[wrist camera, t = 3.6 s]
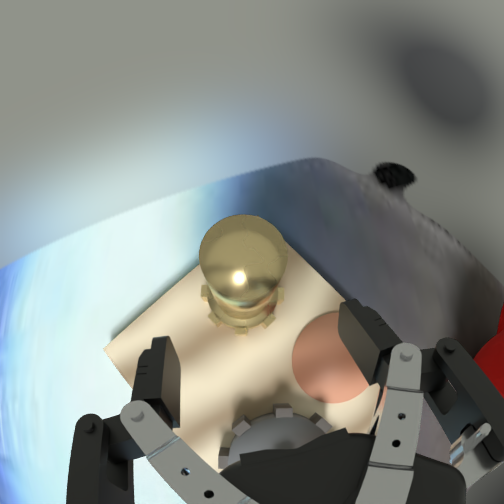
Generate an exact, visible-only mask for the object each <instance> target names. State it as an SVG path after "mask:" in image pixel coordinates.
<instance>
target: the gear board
mask: <svg viewBox="0 0 504 504" xmlns="http://www.w3.org/2000/svg"><path fill="white" fill-rule="evenodd" d="M257 217H259V216H258V215H257ZM285 243H286V242H285ZM286 247H287V252H288V261H287V266H286V269H285V272H284V274H283V276H282V278H281V280H280V282H279V284H278V288H284V301H283V302H282V303H281V304H276V307H275V309H274V311H273V312H272V314H273V315H274V316H275V317H276V319H275V320H274V321H273V322H272V323H271V324H270V325H269V326H268V327H267V328H266V329H264V328H263V327H262V326H261V325H260V326H258V327H256V328H253V329H250V330H248V335H247V336H235V329H232V328H229V327H227V326H225V325H224V324H221V325H220V326H219V327H217V326H216V325H215V324H214V323H213V322H212V321H211V320H210V319H209V317H208V315H209V314H210V313H211V312H212V310H211V308H210V306H209V303H208V302H204V301H203V299H202V298H201V285H208V283H207V281H206V279H205V277H204V275H203V272H202V270H201V267H200V264H199V265H198V266H196V267H195V268H194V269H193V270H192V271H191V272H189V273H188V274H187V275H186V276H185V277H184V278H182V279H181V280H180V281H179V282H178V283H177V284H175V285H174V286H173V287H172V288H171V289H170V290H169V291H167V292H166V293H165V294H164V295H163V296H162V297H160V298H159V299H158V300H157V301H156V302H155V303H154V304H153V305H151V306H150V307H149V308H148V309H147V310H146V311H145V312H143V313H142V314H141V315H140V316H139V317H138V318H137V319H136V320H134V321H133V322H132V323H131V324H130V325H129V326H128V327H127V328H126V329H124V330H123V331H122V332H121V333H120V334H119V335H118V336H117V337H116V338H114V339H113V340H112V341H111V342H110V343H109V344H108V345H107V346H106V347H105V348H103V350H104V351H105V353H106V354H107V355H108V357H109V358H110V360H111V361H112V363H113V364H114V365H115V367H116V368H117V369H118V371H119V372H120V373H121V375H122V376H123V377H124V379H125V380H126V381H127V383H128V384H129V385H130V386H131V388H132V389H133V385H134V379H135V375H136V369H137V364H138V359H139V357H140V355H141V354H142V352H143V351H144V349H151V343H152V339H153V337H160V336H170V338H171V341H172V343H173V346H174V348H175V351H176V353H177V355H178V358H179V361H180V366H181V388H180V428H173V432H174V433H175V434H176V435H177V436H179V437H180V438H181V439H182V440H183V441H184V442H185V443H186V444H187V445H188V446H189V447H190V448H191V449H192V450H193V451H194V452H195V453H196V454H198V455H199V456H200V457H201V458H202V459H203V460H204V461H205V462H206V463H207V464H208V465H210V466H211V467H212V468H213V469H214V470H215V471H216V472H218V473H220V472H221V471H222V470H223V469H224V468H226V467H227V466H229V465H230V464H232V463H234V462H237V461H239V460H240V456H239V454H242V453H249V452H254V451H260V450H265V449H296V448H299V447H301V446H302V445H304V444H306V443H308V442H310V441H312V440H314V439H315V438H317V437H319V436H321V435H324V434H327V433H330V432H333V431H336V430H339V429H342V428H345V427H346V429H347V432H348V433H365V434H367V431H368V429H369V426H370V423H371V420H372V416H373V412H374V408H375V404H376V400H377V396H378V391H379V388H380V386H379V384H378V383H376V384H374V385H371V386H369V384H368V382H367V381H366V379H365V377H364V376H363V374H362V373H361V371H360V369H359V368H358V366H357V364H356V363H355V361H354V360H353V358H352V356H351V355H350V353H349V352H348V350H347V348H346V347H345V345H344V344H343V342H342V340H341V339H340V336H339V333H338V318H339V306H340V303H341V302H344V301H346V300H345V299H344V298H343V297H342V296H341V295H340V294H339V293H338V292H337V291H336V290H335V289H334V288H333V287H332V286H331V285H330V284H329V283H328V282H327V281H326V280H325V279H324V278H323V277H322V276H320V275H319V274H318V273H317V272H316V271H315V270H314V269H313V268H312V267H311V266H310V265H309V264H308V263H307V262H306V261H305V260H304V259H303V258H302V257H301V256H300V255H299V254H298V253H297V252H296V251H295V250H294V249H293V248H292V247H291V246H290V245H289V244H288V243H286Z"/></svg>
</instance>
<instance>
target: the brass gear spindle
mask: <svg viewBox="0 0 504 504" xmlns="http://www.w3.org/2000/svg"><path fill="white" fill-rule="evenodd" d="M287 261H288V252H287V247H286V243H285V241H284V239H283V237H282V235H281V234H280V232H279V231H278V230H277V229H276V228H275V227H274V226H273V225H272V224H271V223H269V222H268V221H266V220H264V219H262V218H260V217H257V216H253V215H245V214H244V215H233V216H230V217H227V218H224V219H222V220H220V221H219V222H217V223H216V224H214V225H213V226H212V227H211V228H210V229H209V230H208V232H207V233H206V234H205V236H204V238H203V240H202V242H201V245H200V250H199V263H200V267H201V270H202V272H203V275H204V277H205V279H206V281H207V283H208V285H201V298H202V299H203V301H204V302H208V303H209V306H210V308H211V310H212V312H211V313H210V314H209V315H208V317H209V319H210V320H211V321H212V322H213V323H214V324H215V325H216V326H217V327H219V326H220V325H221V324H224V325H225V326H227V327H229V328H232V329H235V336H247V335H248V330H250V329H253V328H256V327H258V326H260V325H261V326H262V327H263V328H264V329H266V328H267V327H268V326H269V325H270V324H271V323H272V322H273V321H274V320H275V319H276V317H275V316H274V315H273V314H272V312H273V311H274V309H275V307H276V304H281V303H282V302H283V301H284V288H278V284H279V282H280V280H281V278H282V276H283V274H284V272H285V269H286V266H287Z"/></svg>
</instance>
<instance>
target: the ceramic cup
mask: <svg viewBox="0 0 504 504" xmlns="http://www.w3.org/2000/svg"><path fill="white" fill-rule="evenodd" d="M473 360H474V361H475V362H476V363H477V364H478V366H479V367H480V368H481V369H482V371H483V372H484V373H485V374H486V376H487V377H488V378H489V379H490V381H491V382H492V383H493V385H494V386H495V387H496V389H497V390H498V391H499V393H500V394H501V395H502V397H503V398H504V304H503V307H502V310H501V315H500V319H499V324H498V330H497V335H495V336H494V337H493V338H491V339H490V340H489V341H488V342H487V343H486V344H485V345H484V346H483V347H482V348H481V349H480V351H479V352H478V353H477V355H476V356H475V357H474V359H473Z"/></svg>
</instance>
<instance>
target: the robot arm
mask: <svg viewBox="0 0 504 504" xmlns="http://www.w3.org/2000/svg"><path fill="white" fill-rule="evenodd" d="M338 333H339V336H340V339H341V340H342V342H343V344H344V345H345V347H346V348H347V350H348V352H349V353H350V355H351V356H352V358H353V360H354V361H355V363H356V364H357V366H358V368H359V369H360V371H361V373H362V374H363V376H364V377H365V379H366V381H367V382H368V384H369V386H371V385H374V384H376V383H378V384H379V386H380V388H379V391H378V396H377V400H376V404H375V408H374V412H373V416H372V420H371V423H370V426H369V429H368V431H367V434H365V433H348V432H347V429H346V427H345V428H342V429H339V430H336V431H333V432H330V433H327V434H324V435H321V436H319V437H317V438H315V439H314V440H312V441H310V442H308V443H306V444H304V445H302V446H301V447H299V448H296V449H265V450H260V451H254V452H249V453H242V454H239V456H240V460H239V461H237V462H234V463H232V464H230V465H229V466H227V467H226V468H224V469H223V470H222V471H221V472H220V473H218V472H216V471H215V470H214V469H213V468H212V467H211V466H210V465H208V464H207V463H206V462H205V461H204V460H203V459H202V458H201V457H200V456H199V455H198V454H196V453H195V452H194V451H193V450H192V449H191V448H190V447H189V446H188V445H187V444H186V443H185V442H184V441H183V440H182V439H181V438H180V437H179V436H177V435H176V434H175V433H174V432H173V428H180V388H181V366H180V361H179V358H178V355H177V353H176V351H175V348H174V346H173V343H172V341H171V338H170V336H160V337H153V339H152V343H151V349H144V351H143V352H142V354H141V355H140V357H139V359H138V364H137V369H136V375H135V379H134V385H133V391H132V397H131V402H130V403H128V404H127V405H125V406H124V407H123V409H122V411H121V413H120V414H119V415H117V416H113V417H110V418H106V419H103V420H102V419H101V418H100V417H99V416H98V415H96V414H86V415H84V416H82V417H81V418H80V419H79V420H78V421H77V423H76V426H75V432H74V437H73V443H72V450H71V457H70V464H69V473H68V483H67V497H66V504H135V503H134V479H133V459H137V458H140V457H143V456H147V457H146V458H147V460H148V461H149V462H150V464H151V465H152V466H153V467H154V468H155V470H156V471H157V472H158V473H159V474H160V475H161V477H162V478H163V479H164V480H165V481H166V482H167V483H168V485H169V486H170V487H171V488H172V489H173V490H174V491H175V492H176V493H177V494H178V495H179V496H180V497H181V498H182V499H183V500H184V501H185V502H186V503H187V504H466V489H467V488H468V487H469V486H471V485H472V484H473V483H475V482H476V481H477V480H479V479H481V478H482V477H484V476H485V475H487V474H488V473H490V472H491V471H492V470H494V469H495V468H496V467H498V466H499V465H500V464H502V463H503V462H504V398H503V397H502V395H501V394H500V393H499V391H498V390H497V389H496V387H495V386H494V385H493V383H492V382H491V381H490V379H489V378H488V377H487V376H486V374H485V373H484V372H483V371H482V369H481V368H480V367H479V366H478V364H477V363H476V362H475V361H474V360H473V358H472V357H471V356H470V355H469V354H468V352H467V351H466V350H465V349H464V348H463V347H462V345H461V344H460V343H459V342H458V341H456V340H455V339H452V338H443V339H440V340H439V341H438V342H437V344H436V347H435V348H431V349H423V350H419V348H418V347H416V346H415V345H413V344H410V343H403V342H402V341H401V340H400V339H399V337H398V336H397V335H396V334H395V333H394V331H393V330H392V329H391V328H390V327H389V326H388V324H386V322H385V321H384V320H383V319H382V317H381V316H380V315H379V314H378V313H377V312H376V311H375V310H373V309H371V308H370V307H368V306H365V307H363V306H362V305H361V304H360V303H359V301H358V300H357V299H352V300H348V301H344V302H341V303H340V306H339V318H338ZM448 380H449V381H450V383H451V384H452V385H453V387H454V388H455V390H456V391H457V393H456V392H455V390H454V389H453V387H452V386H451V385H450V383H449V382H448ZM423 397H424V398H425V400H426V401H427V403H428V405H429V406H430V408H431V410H432V411H433V413H434V415H435V416H436V418H437V420H438V421H439V423H440V425H441V427H442V428H443V430H444V432H445V434H446V435H447V437H448V439H449V441H450V442H451V444H452V446H451V448H450V459H449V460H450V462H451V463H452V465H449V464H446V463H443V462H440V461H437V460H434V459H431V458H429V457H426V456H423V455H420V454H418V453H415V452H416V447H417V441H418V435H419V429H420V422H421V414H422V405H423Z"/></svg>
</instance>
